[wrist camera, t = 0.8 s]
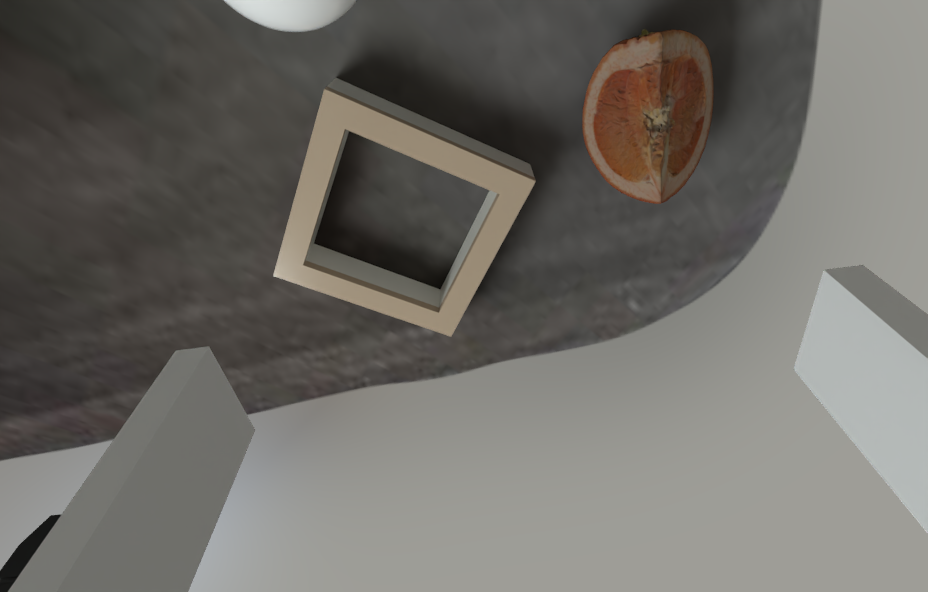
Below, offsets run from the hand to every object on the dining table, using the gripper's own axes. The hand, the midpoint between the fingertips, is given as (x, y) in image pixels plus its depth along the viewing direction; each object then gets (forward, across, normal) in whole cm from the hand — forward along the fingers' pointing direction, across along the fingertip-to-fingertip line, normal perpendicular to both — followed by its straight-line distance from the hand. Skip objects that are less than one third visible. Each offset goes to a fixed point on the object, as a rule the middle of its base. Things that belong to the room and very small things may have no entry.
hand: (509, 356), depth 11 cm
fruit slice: (+21, +9, -1) cm, 23 cm away
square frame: (+21, -5, -5) cm, 22 cm away
